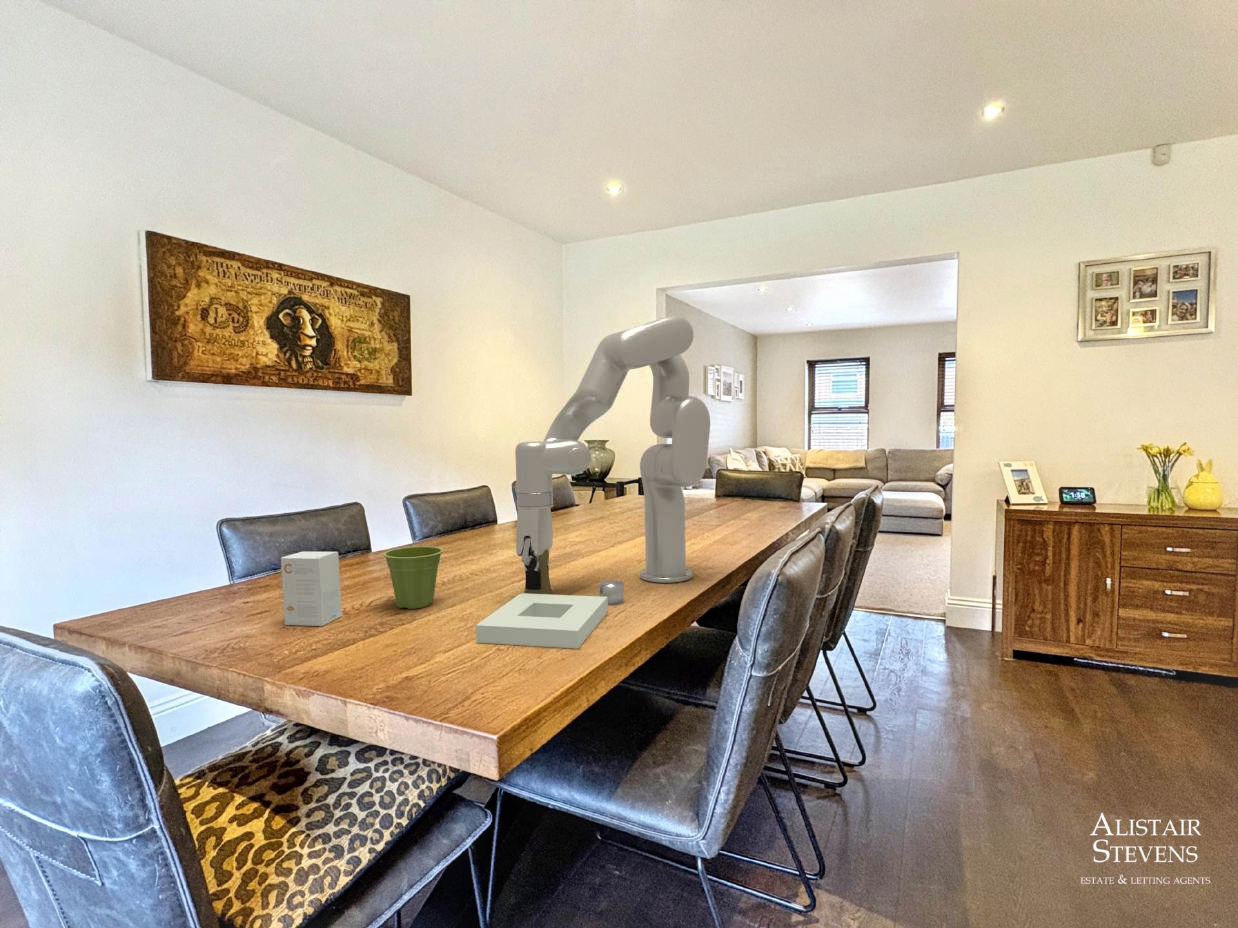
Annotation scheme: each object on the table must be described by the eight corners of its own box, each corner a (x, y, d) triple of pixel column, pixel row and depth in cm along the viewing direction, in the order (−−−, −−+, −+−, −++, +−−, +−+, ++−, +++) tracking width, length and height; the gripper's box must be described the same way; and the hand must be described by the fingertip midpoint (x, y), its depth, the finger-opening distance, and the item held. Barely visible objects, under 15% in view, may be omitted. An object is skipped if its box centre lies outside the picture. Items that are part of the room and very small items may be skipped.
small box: (342, 616, 121) (339, 551, 120) (322, 626, 115) (318, 558, 114) (306, 615, 122) (302, 550, 121) (283, 625, 116) (279, 557, 115)
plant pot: (407, 616, 120) (405, 559, 119) (374, 607, 127) (371, 553, 126) (457, 602, 129) (455, 549, 128) (423, 593, 136) (421, 543, 136)
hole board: (521, 607, 124) (520, 593, 123) (607, 611, 120) (607, 596, 119) (476, 642, 104) (475, 625, 104) (578, 648, 100) (577, 630, 100)
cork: (555, 594, 133) (553, 544, 132) (549, 602, 127) (547, 550, 126) (527, 594, 134) (526, 544, 133) (520, 602, 128) (518, 550, 127)
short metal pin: (602, 598, 130) (602, 579, 129) (625, 599, 128) (625, 580, 128) (596, 605, 125) (596, 585, 125) (620, 606, 124) (620, 586, 123)
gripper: (532, 495, 138) (535, 576, 139) (502, 505, 122) (505, 596, 123) (564, 495, 136) (566, 577, 137) (537, 505, 120) (540, 597, 121)
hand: (537, 585), depth 130 cm, fingers closed on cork, 4 cm apart
